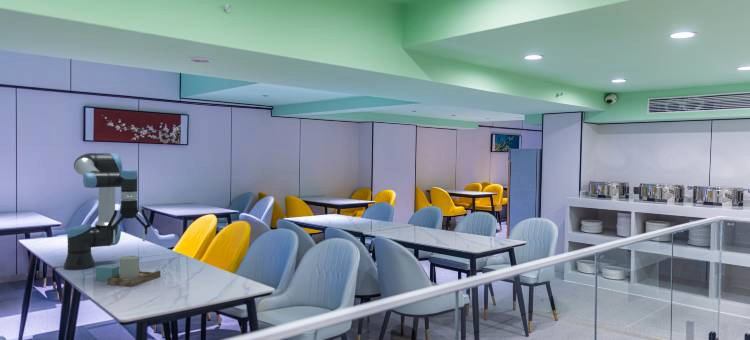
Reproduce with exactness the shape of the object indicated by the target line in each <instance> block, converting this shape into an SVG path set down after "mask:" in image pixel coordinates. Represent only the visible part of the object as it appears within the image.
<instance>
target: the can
mask: <svg viewBox="0 0 750 340" xmlns="http://www.w3.org/2000/svg"><path fill="white" fill-rule="evenodd" d="M118 260H119V274H120V279H128V280H132V279H135V278H138V277H139V271H140V256H139V255H124V256H120V257H119V259H118Z"/></svg>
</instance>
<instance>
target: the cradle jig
mask: <svg viewBox="0 0 750 340" xmlns="http://www.w3.org/2000/svg"><path fill="white" fill-rule="evenodd" d="M158 278H161V270H157V271H153V272H151V271H144V270H143V271H141V270H139V277H138V278H135V279H132V280H128V279H120V273H119V275H116V276H113V277H110V278H107V282H106V283H107V286H109V285H110V286H117V287H118V286H119V287H127V288H128V287H129V288H131V287H132V288H133V287H135V286H138V285H141V284H143V283H146V282H150V281H152V280H154V279H155V280H156V279H158Z"/></svg>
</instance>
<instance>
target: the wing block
mask: <svg viewBox="0 0 750 340" xmlns="http://www.w3.org/2000/svg"><path fill="white" fill-rule="evenodd" d="M119 274H120V265H119V266H115V265H106V264H105V265H104V264H102V265H99V266H96V267H95V281H96V282H106V283H107V278H110V277H113V276H116V275H119Z"/></svg>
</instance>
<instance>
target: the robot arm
mask: <svg viewBox="0 0 750 340" xmlns="http://www.w3.org/2000/svg"><path fill="white" fill-rule="evenodd" d="M73 168H74V171H75V172H77V174H79V175H81V176H82V177H83V178H82V184H83V187H84V188H87V189H88V188H89V189H95V188H96V189H97V188H98V210H97V212H98V215H97V216H98V218H97V221H96V222H94V226H92V225H91V224H80V225H76V226H71V227H70V228H69V229H68V230H67V236H66V238H67V255H66V257H65V262H64V263H63V269H65V270H85V269H91V268H94V267H95V260H94V258H93V257H94V256H93V253H92V248H100V247H111V246H116V245H118V244H119V242H120V240H121V234H122V231H121V229H122V227H121V226H120V225H119V224H120V223H121V222H122V221H123V220H124V219H125V220H127V219H134V218H135V219H136V220H137V221H138V222H139V223H140V225H142V242H146V235H148V228H151V227H152V224H151V223H150V220H149V218H148V217H147V215H146V213H145V209H144V208H140V209H139V208H138V200H137V199H138V170H137V169H133V168H131V169H129V168H125V169H124V168H123V162H122V159H121V157H120V155H119V154H118V153H113V152H112V153H111V152H102V153H101V152H96V153H94V152H87V153H85V154H82V155H80V156H78V157H77V158H76V159H75V160H74V163H73ZM116 188H120V199H121V200H120V210H119V209H116ZM138 213H140V214H141V215H142V218H143V219H144V221H143V220H142V219H141V218H140V217H139V216H138V215H137V214H138ZM119 214H121V215H120V217H119V218H118V219H117V220H116V217H117V215H119ZM145 223H146V224H145Z"/></svg>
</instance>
